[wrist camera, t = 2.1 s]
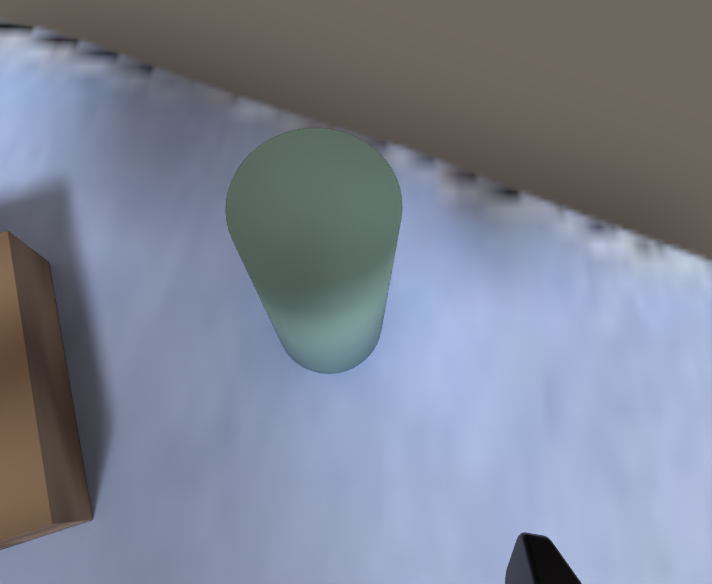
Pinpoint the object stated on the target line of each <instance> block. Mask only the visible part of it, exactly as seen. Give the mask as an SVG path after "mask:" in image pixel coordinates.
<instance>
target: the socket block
mask: <svg viewBox="0 0 712 584" xmlns="http://www.w3.org/2000/svg"><path fill="white" fill-rule="evenodd" d="M90 520H93V517H92V511H91V506H90V500H89V494H88V488H87V482H86V477H85V471H84V465H83V459H82V453H81V447H80V442H79V436H78V430H77V424H76V418H75V413H74V407H73V401H72V395H71V389H70V383H69V378H68V372H67V366H66V360H65V354H64V348H63V343H62V337H61V331H60V325H59V319H58V314H57V308H56V302H55V296H54V290H53V284H52V279H51V273H50V267H49V262H48V261H47V260H46V259H44V258H43V257H42V256H40V255H39V254H38V253H36V252H35V251H34V250H32V249H31V248H30V247H28V246H27V245H26V244H24V243H23V242H22V241H21V240H19V239H18V238H17V237H15V236H14V235H13V234H11V233H10V232H9V231H5V232H1V233H0V550H1V549H4V548H7V547H11V546H14V545H17V544H20V543H23V542H26V541H29V540H32V539H35V538H38V537H41V536H44V535H47V534H51V533H54V532H57V531H60V530H63V529H66V528H69V527H72V526H75V525H78V524H81V523H84V522H87V521H90Z"/></svg>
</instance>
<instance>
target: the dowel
mask: <svg viewBox="0 0 712 584" xmlns="http://www.w3.org/2000/svg"><path fill="white" fill-rule="evenodd" d="M401 216H402V196H401V191H400V186H399V184H398V181H397V178H396V176H395V174H394V172H393V170H392V168H391V167H390V165H389V164H388V162H387V161H386V160H385V159H384V157H383V156H382V155H381V154H380V153H379V152H378V151H377V150H375V149H374V148H373V147H372V146H371V145H369V144H368V143H366V142H364V141H363V140H361V139H359V138H357V137H355V136H353V135H351V134H348V133H345V132H342V131H338V130H333V129H326V128H305V129H298V130H293V131H289V132H286V133H283V134H280V135H278V136H276V137H274V138H272V139H270V140H268V141H266V142H264V143H263V144H261V145H260V146H258V147H257V148H256V149H255V150H254V151H253V152H251V153H250V154H249V155H248V156H247V157H246V159H245V160H244V161H243V162H242V163H241V165H240V166H239V168H238V169H237V171H236V172H235V174H234V176H233V178H232V180H231V183H230V186H229V189H228V193H227V198H226V221H227V225H228V229H229V233H230V235H231V238H232V240H233V242H234V244H235V247H236V249H237V251H238V253H239V255H240V257H241V259H242V261H243V263H244V265H245V268H246V270H247V272H248V274H249V276H250V278H251V280H252V282H253V284H254V287H255V289H256V291H257V293H258V295H259V297H260V299H261V301H262V303H263V306H264V308H265V310H266V312H267V314H268V316H269V318H270V320H271V322H272V325H273V327H274V329H275V331H276V333H277V335H278V337H279V339H280V341H281V344H282V346H283V347H284V349H285V351H286V352H287V353H288V355H289V356H290V357H291V358H292V359H293V360H294V361H295V362H297V363H298V364H299V365H301V366H302V367H304V368H306V369H309V370H311V371H314V372H318V373H326V374H332V373H340V372H344V371H347V370H349V369H352V368H354V367H356V366H357V365H359V364H360V363H362V362H363V361H364V360H365V359H366V358H367V357H368V356H369V355H370V354H371V353H372V351H373V350H374V348H375V346H376V345H377V343H378V340H379V337H380V333H381V329H382V323H383V318H384V312H385V306H386V301H387V295H388V290H389V284H390V279H391V273H392V267H393V262H394V256H395V251H396V245H397V240H398V234H399V229H400V223H401Z"/></svg>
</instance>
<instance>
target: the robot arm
mask: <svg viewBox="0 0 712 584" xmlns="http://www.w3.org/2000/svg"><path fill="white" fill-rule="evenodd" d="M505 584H582V583H581V582H580V580H579V579H578V578H577V576H576V575H575V573H574V572H573V571H572V569H571V568H570V566H569V565H568V564H567V562H566V561H565V559H564V558H563V557H562V555H561V554H560V552H559V551H558V549H557V548H556V547H555V545H554V544H553V542H552V541H551V540H550V539H549V538H548V537H546V536H543V535H537V534H531V533H525V532H524V533H521V534H520V535H519V536H518V538H517V540H516V543H515V546H514V549H513V552H512V555H511V558H510V561H509V564H508V567H507V570H506V577H505Z"/></svg>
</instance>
